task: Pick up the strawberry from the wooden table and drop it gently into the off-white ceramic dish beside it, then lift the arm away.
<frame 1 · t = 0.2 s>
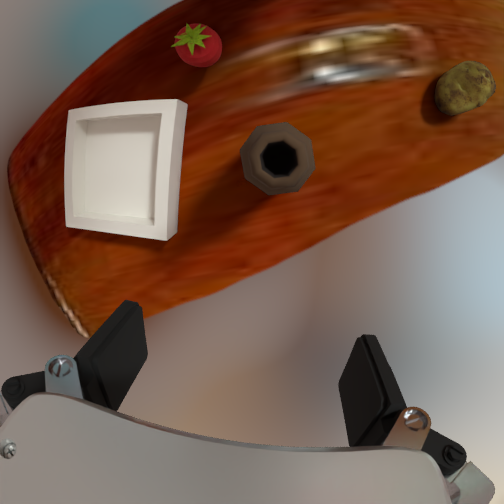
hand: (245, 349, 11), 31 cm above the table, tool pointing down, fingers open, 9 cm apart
strawberry: (208, 57, 33), on the table
potato: (451, 90, 30), on the table
beer bottle: (277, 157, 37), on the table
tray: (124, 166, 39), on the table
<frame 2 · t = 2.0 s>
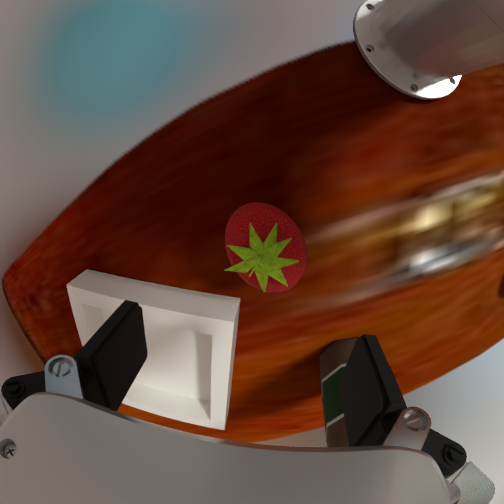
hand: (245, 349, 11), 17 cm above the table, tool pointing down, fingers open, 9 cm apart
strawberry: (269, 228, 26), on the table
beer bottle: (346, 357, 31), on the table
tray: (159, 348, 33), on the table
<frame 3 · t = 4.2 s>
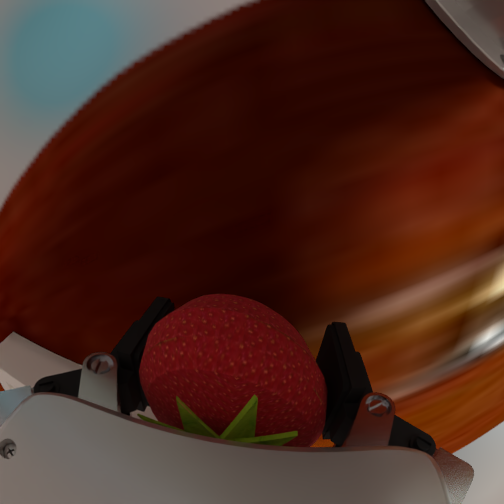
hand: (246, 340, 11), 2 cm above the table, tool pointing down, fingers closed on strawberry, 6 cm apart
strawberry: (251, 311, 14), on the table, touching gripper
tray: (114, 432, 20), on the table
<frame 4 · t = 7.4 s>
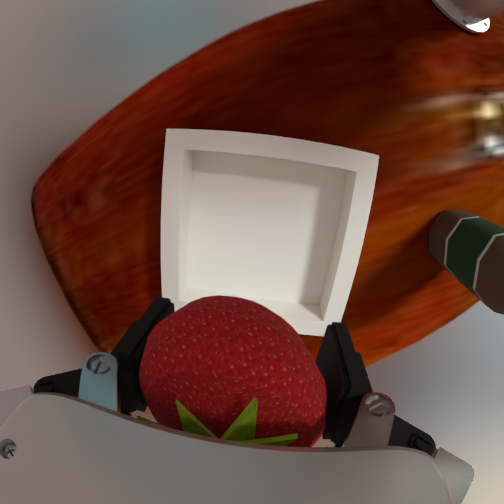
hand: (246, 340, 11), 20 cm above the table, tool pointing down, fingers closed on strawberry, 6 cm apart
strawberry: (251, 313, 14), point 18 cm above the table, touching gripper
beer bottle: (447, 235, 28), on the table
tray: (262, 229, 30), on the table
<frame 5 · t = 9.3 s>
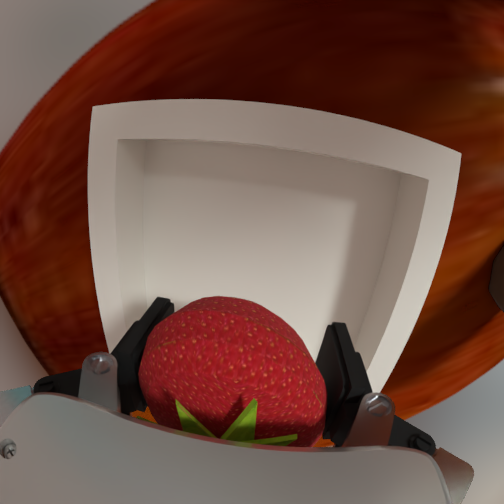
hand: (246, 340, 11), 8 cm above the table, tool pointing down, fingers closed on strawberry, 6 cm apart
strawberry: (251, 313, 14), point 5 cm above the table, touching gripper
tray: (259, 269, 19), on the table
when the fingers open (5 cm above the table, at t = 10.7 s): strawberry drops 2 cm, resting on tray.
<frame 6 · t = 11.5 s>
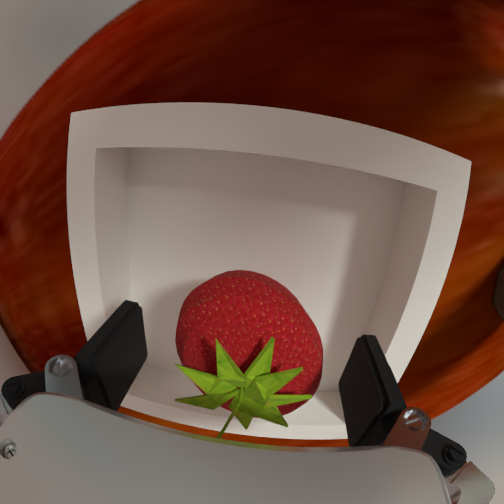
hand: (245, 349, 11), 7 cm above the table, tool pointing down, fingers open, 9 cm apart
strawberry: (259, 291, 16), point 1 cm above the table, touching tray
tray: (251, 286, 17), on the table
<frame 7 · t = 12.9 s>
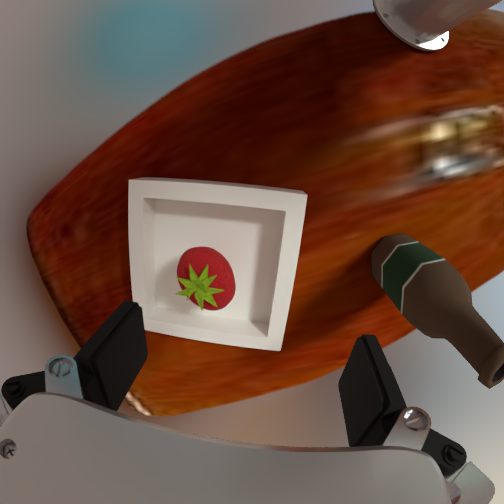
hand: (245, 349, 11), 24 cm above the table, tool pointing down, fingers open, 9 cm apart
strawberry: (216, 260, 35), point 1 cm above the table, touching tray
beer bottle: (392, 258, 34), on the table
tray: (214, 259, 35), on the table
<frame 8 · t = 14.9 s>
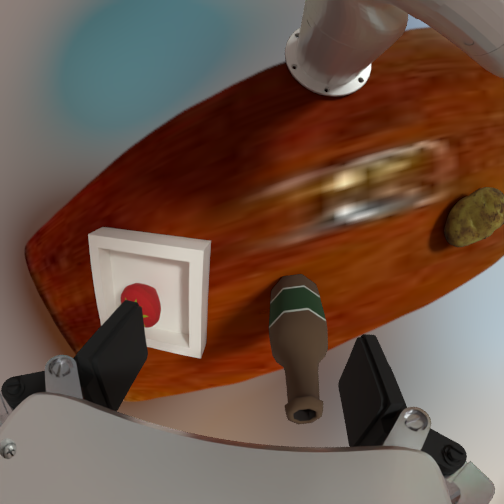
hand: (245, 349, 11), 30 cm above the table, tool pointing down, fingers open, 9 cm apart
strawberry: (153, 289, 45), point 1 cm above the table, touching tray
potato: (463, 211, 36), on the table
beer bottle: (294, 293, 44), on the table
tray: (153, 287, 46), on the table
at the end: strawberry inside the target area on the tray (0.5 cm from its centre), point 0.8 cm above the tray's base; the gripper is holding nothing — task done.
